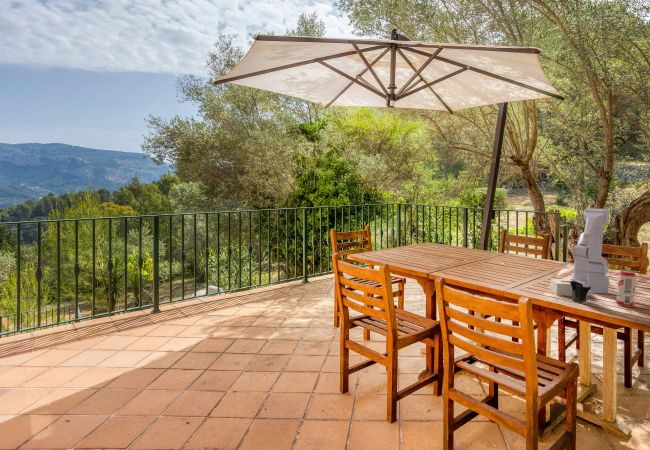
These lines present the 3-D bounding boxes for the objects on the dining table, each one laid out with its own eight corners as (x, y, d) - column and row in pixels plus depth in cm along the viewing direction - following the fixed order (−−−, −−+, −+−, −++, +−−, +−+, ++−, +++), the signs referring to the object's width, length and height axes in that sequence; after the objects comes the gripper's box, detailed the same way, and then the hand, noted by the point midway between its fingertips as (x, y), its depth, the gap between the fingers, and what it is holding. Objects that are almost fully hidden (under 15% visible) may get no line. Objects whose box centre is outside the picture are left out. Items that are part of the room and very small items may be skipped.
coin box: (579, 291, 202) (580, 280, 201) (587, 296, 192) (588, 285, 191) (550, 289, 205) (550, 278, 204) (556, 295, 195) (557, 283, 195)
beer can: (618, 306, 177) (621, 272, 175) (614, 302, 183) (617, 269, 181) (635, 308, 175) (638, 273, 173) (630, 304, 181) (633, 270, 179)
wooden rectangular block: (584, 300, 186) (584, 290, 185) (586, 302, 184) (586, 291, 183) (571, 300, 187) (572, 289, 187) (573, 301, 185) (573, 291, 185)
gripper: (565, 266, 192) (564, 293, 193) (577, 273, 178) (575, 301, 179) (582, 267, 190) (580, 294, 192) (594, 273, 176) (592, 303, 178)
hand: (578, 298), depth 185 cm, fingers open, 6 cm apart
